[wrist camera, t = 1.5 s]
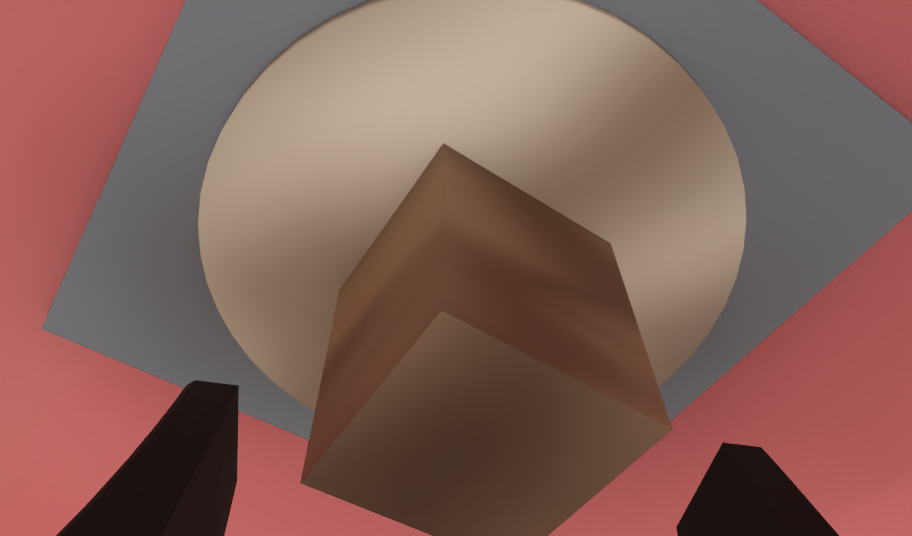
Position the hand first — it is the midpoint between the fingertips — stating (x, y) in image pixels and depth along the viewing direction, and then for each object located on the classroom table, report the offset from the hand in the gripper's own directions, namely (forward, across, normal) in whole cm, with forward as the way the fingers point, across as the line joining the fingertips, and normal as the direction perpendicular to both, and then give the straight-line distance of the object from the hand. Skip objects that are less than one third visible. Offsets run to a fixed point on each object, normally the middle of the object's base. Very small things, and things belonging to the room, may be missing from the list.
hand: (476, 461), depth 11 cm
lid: (+6, 0, 0) cm, 6 cm away
